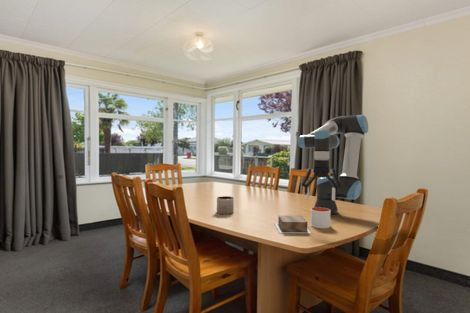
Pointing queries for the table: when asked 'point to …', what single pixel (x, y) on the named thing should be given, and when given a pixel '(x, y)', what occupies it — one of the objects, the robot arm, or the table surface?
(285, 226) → the base block
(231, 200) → the planter
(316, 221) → the cup
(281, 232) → the build board
